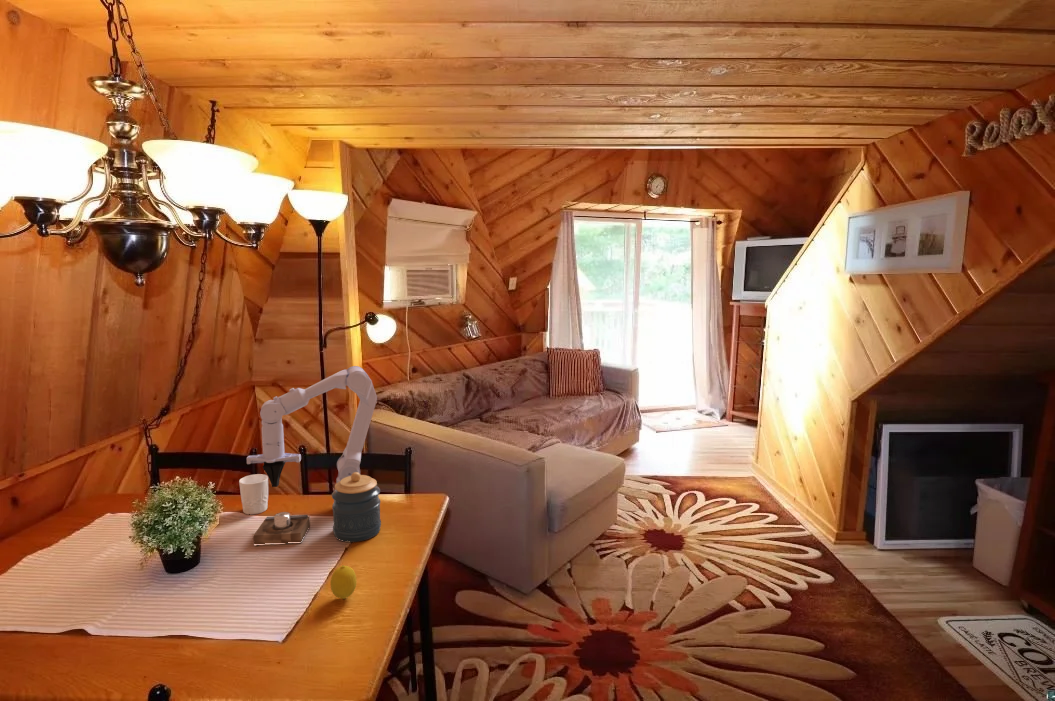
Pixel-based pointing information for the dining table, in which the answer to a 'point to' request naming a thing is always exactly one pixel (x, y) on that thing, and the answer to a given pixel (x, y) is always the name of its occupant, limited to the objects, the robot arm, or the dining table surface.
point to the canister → (356, 508)
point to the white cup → (254, 493)
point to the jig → (292, 534)
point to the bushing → (282, 521)
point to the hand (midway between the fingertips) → (275, 485)
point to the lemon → (343, 582)
